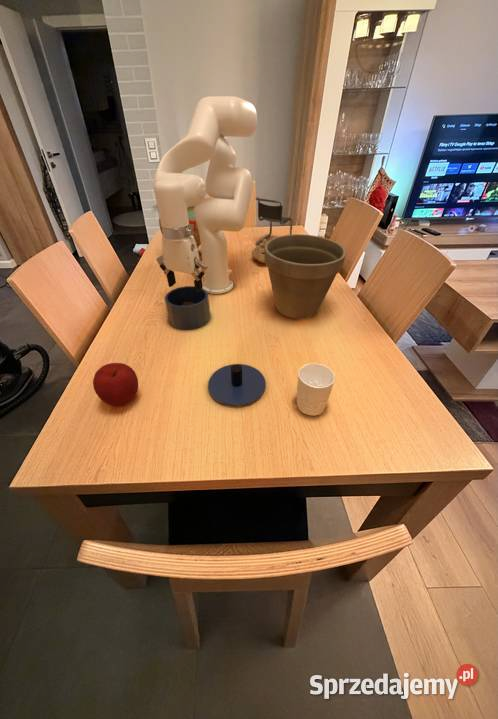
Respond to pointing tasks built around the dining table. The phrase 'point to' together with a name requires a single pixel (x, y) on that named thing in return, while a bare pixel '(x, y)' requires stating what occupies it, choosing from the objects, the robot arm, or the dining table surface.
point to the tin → (187, 308)
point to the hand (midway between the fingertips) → (185, 287)
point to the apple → (116, 384)
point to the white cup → (314, 388)
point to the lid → (237, 385)
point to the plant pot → (302, 272)
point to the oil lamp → (260, 252)
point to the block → (187, 303)
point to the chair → (272, 214)
